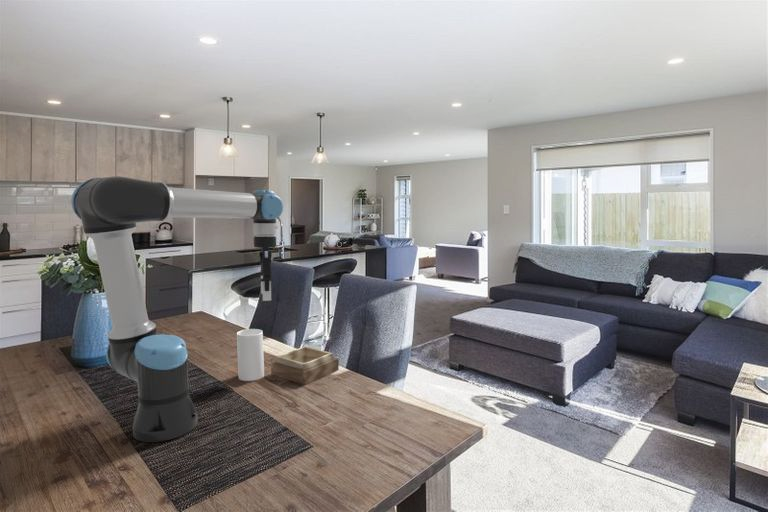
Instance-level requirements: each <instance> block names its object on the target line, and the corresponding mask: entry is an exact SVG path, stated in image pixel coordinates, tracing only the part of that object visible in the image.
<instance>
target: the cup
mask: <svg viewBox="0 0 768 512" xmlns="http://www.w3.org/2000/svg"><path fill="white" fill-rule="evenodd" d="M236 353H237V371H238V375H237V376H238V380H239V381H244V382H252V381H257V380H260V379H263V378H264V376H265V364H264V363H265V359H264V358H265V357H264V333H263V330H262V329H258V328H248V329H247V328H246V329H242V330H239V331H237V332H236Z"/></svg>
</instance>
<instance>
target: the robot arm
mask: <svg viewBox="0 0 768 512" xmlns="http://www.w3.org/2000/svg"><path fill="white" fill-rule="evenodd" d="M70 201H71V208H72V210H73V212H74V214H75V215H76V216H77V217H78V219H80V220H81V224H82V228H83V232H84V235H85V236H87V237H88V238H90V239H91V240H93V246H94V249H95V253H96V258H97V264H98V266H99V271H100V276H101V281H102V285H103V289H104V290H103V291H104V295H105V299H106V304H107V308H108V312H109V317H110V322H111V326H112V328H111V329H110V331H109V332H108V333H107V338H108V345H107V346H106V351H105V356H106V357H105V358H106V361H107V363H108V365H109V366H110V367H111V369H112V370H113V371H115V372H116V373H117V374H119V375H121V376H123V377H125V378H128V379H130V380H132V381H134V382H136V383H137V393H138V394H137V395H138V405H137V407H136V408H137V410H136V411H135V415H134V419H133V422H132V436H133V438H134V439H135V440H137V441H140V442H142V443H143V442H145V443H158V442H165V441H169V440H174V439H176V438H179V437H182V436H184V435H186V434H188V433H189V432H191V431H192V430H194V429H196V427H197V425H198V412H197V410H196V408H195V405H194V403H193V400H192V398H191V396H190V392H189V391H190V390H189V371H188V370H189V368H188V349H187V345H186V341H185V340H184V339H183V338H181V337H180V336H178V335H175V334H168V335H167V334H165V333H163V334H161V333H160V334H158V328H157V324H156V323H155V322H153V321H152V320H150V319H149V316H148V311H147V306H146V301H145V296H144V290H143V286H142V282H141V276H140V272H139V267H138V262H137V256H136V251H135V248H134V242H133V236H132V234H133V233H134V231H135V230H136V229H137V223H145V222H164V221H166V220H167V219H168V218H189V219H190V218H192V219H193V218H195V219H196V218H198V219H199V218H200V219H232V220H234V219H238V220H239V219H242V220H243V219H244V220H245V219H246V220H247V219H248V220H252V224H253V230H252V231H253V235H254V237H253V247H254V248H256V249H258V248H260V249H259V250H260V252H259V253H258V257H259V263H260V294H261V295H262V302H265V301H266V302H269V301H272V270H271V268H272V267H271V265H272V252H271V251H270V248H272V249H273V248H276V247H277V236H275V235H276V234H277V229H279V226H277V219H278V218H280V216H282V213H283V210H284V203H283V200H282V199H281V197H279V195H276V193H275V191H273V190H269V189H268V190H266V189H263V190H261V189H257V190H253V191H252V193H249V192H238V191H237V192H236V191H235V192H234V191H222V190H210V189H198V188H197V189H196V188H195V189H194V188H186V187H185V188H184V187H183V188H182V187H171V186H169V187H168V185H167V184H166V183H164V182H157V181H148V180H143V179H137V178H131V177H127V176H117V175H116V176H114V175H113V176H108V177H94V178H89V179H88V180H85V181H83V182H81V183H80V184H78V185H77V187H76V188H75V189H74V190H73V193H72V195H71V200H70Z"/></svg>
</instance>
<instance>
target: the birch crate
mask: <svg viewBox="0 0 768 512" xmlns="http://www.w3.org/2000/svg"><path fill="white" fill-rule="evenodd" d="M333 357H334V353H333V352H329V351H325V350H321V349H318V348H314V347H309V346H306V345H305V346H302V347H300V348H297V349H293V350H291V351H288V352H285V353H282V354H280V355H276V358H275V359H276V360H275V361H276V363H279V364H283V365H286V366H289V367H293V368H296V369H299V370H303V371H306V370H308V369H311V368H313V367H316V366H318V365H321V364H323V363H325V362H328V361H330V360H333Z"/></svg>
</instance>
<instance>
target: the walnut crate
mask: <svg viewBox="0 0 768 512" xmlns="http://www.w3.org/2000/svg"><path fill="white" fill-rule="evenodd" d="M339 362H340V361H339V358H338V357H335V356H333V360H330V361H328V362H325V363H323V364H321V365H318V366H316V367H313V368H311V369H308V370H306V371H303V370H299V369H296V368H293V367H289V366H286V365H283V364H279V363H276V360H274V361H272V362H270V374H271V376H276V377H279V378H282V379H284V380H288V381H291V382H294V383H297V384H301V385H303V386H306V385H308V384H311V383H313V382H315V381H317V380H320V379H321V378H323V377H326V376H329V375H331V374H333V373H335V372H337V371H339V370H340V369H339V367H340V365H339Z"/></svg>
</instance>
